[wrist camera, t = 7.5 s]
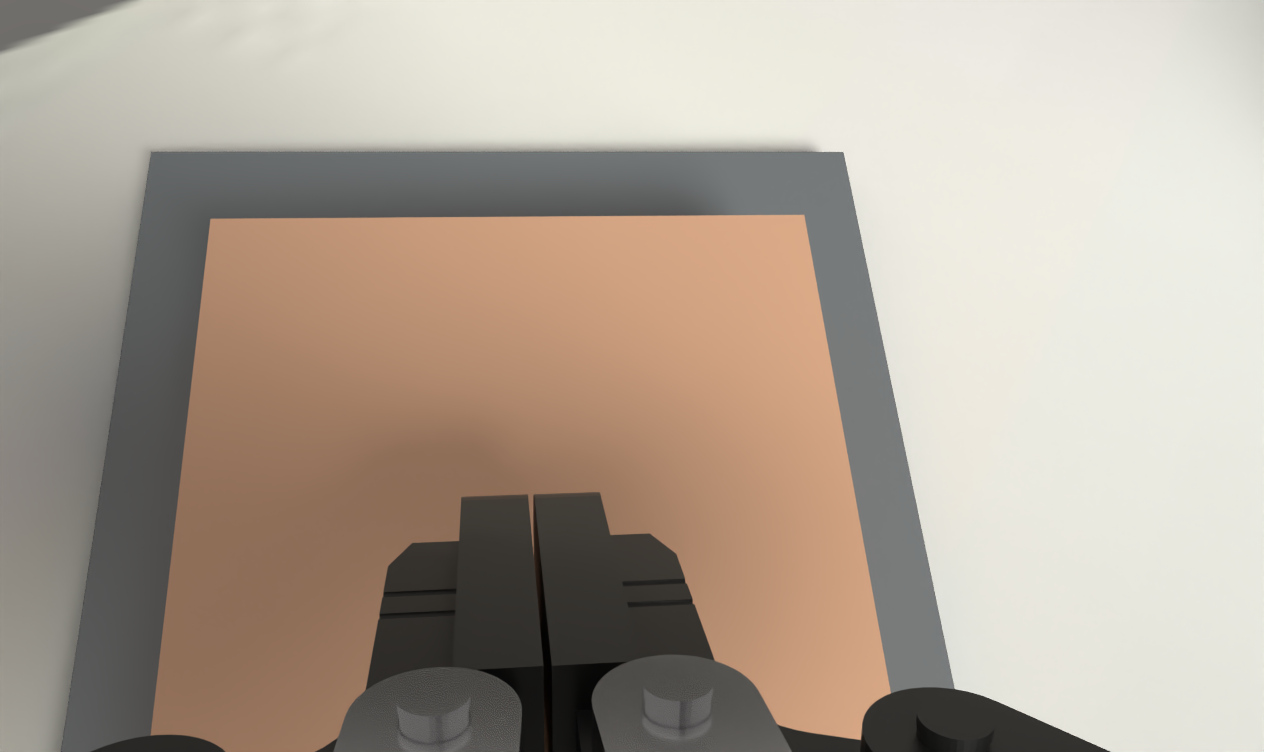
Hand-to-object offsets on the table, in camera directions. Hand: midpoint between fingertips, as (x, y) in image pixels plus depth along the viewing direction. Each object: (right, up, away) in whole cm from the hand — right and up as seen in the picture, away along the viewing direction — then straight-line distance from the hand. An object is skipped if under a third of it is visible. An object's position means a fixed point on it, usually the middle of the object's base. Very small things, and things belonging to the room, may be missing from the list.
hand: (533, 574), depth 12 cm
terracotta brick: (0, -5, +2) cm, 5 cm away
